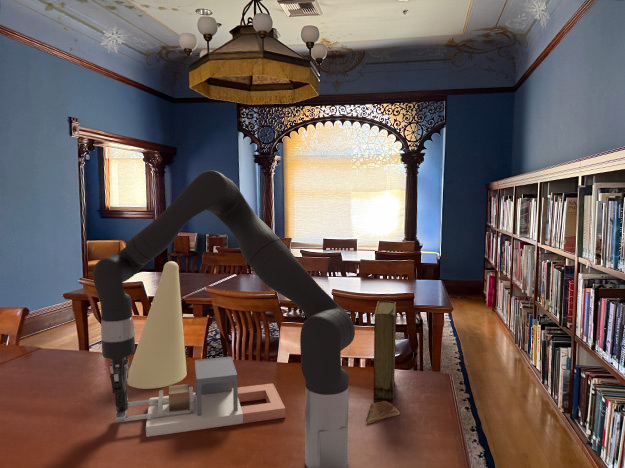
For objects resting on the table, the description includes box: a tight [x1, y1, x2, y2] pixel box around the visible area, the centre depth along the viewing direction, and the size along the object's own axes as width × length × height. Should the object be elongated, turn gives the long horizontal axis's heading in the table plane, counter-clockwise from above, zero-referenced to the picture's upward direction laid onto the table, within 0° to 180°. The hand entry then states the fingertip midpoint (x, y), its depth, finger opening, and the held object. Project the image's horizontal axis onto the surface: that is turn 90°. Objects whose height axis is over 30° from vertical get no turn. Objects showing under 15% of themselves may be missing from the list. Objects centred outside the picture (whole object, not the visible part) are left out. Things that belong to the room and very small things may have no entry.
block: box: [168, 383, 190, 411], centre depth 117 cm, size 5×5×5 cm
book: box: [372, 300, 397, 402], centre depth 133 cm, size 16×6×25 cm, turn 168°
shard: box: [365, 400, 401, 425], centre depth 120 cm, size 11×8×2 cm
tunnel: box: [194, 356, 238, 416], centre depth 121 cm, size 14×10×10 cm
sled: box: [115, 381, 194, 423], centre depth 116 cm, size 9×19×8 cm, turn 107°
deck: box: [145, 383, 286, 438], centre depth 120 cm, size 16×34×2 cm, turn 106°
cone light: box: [127, 260, 188, 390], centre depth 145 cm, size 25×18×35 cm
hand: (121, 402), depth 113 cm, fingers closed on sled, 3 cm apart
